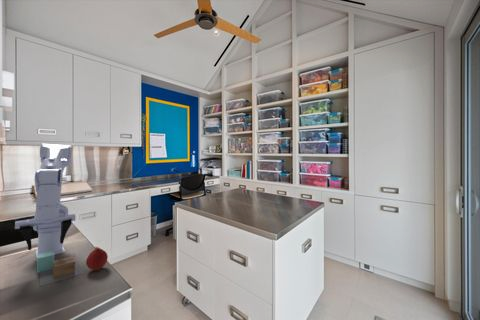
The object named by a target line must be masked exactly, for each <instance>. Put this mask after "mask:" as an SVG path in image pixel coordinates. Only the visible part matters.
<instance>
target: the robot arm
mask: <svg viewBox="0 0 480 320" xmlns="http://www.w3.org/2000/svg"><path fill="white" fill-rule="evenodd" d="M39 156H40V157H39V158H40V162H41V165H40V168H39V170H36V171H35V173H34V184H35V192H36V201H35V213H34V217H33V218H29V219H23V220H17V221H16V220H15V221H14V222H15V223H14V230H19V232H20V234H21V235H22V237H23V238H24V240H25V242H26V245H27V250H28V251H31V250H32V228H33V230H34V231H35V232H37V234H38V237H37V240H38V241H37V249H35V258H36V259H37V254H41V253H46V252H51V251H54V254H55V255H58V254H63V253H66V250H65V248H64V241H65V238H66V235H67V233H68V231H69V230H70V227H71V226H72V224H73V221H74V222H75V221H76V218H77V216H76V213H72V214H71V213H70V214H69V208H68V207H67V206H66V205H64V204H62V203H61V197H62V186H63V185H62V183H63V172H64V170H65V168H67V167H68V166H71V162H72V145H71V144H53V143H40V145H39Z"/></svg>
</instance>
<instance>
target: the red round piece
mask: <svg viewBox="0 0 480 320" xmlns="http://www.w3.org/2000/svg"><path fill="white" fill-rule="evenodd" d="M108 258H109V257H108V253H107V252H106V251H105V250H104V249H103V248H100V247H99V246H95V247H94V249H93V250H92V251H91V252H90V253H89V254H88V255H87V257H86V261H85V263H86V266H87V268H88V269H90V270H93V271H94V272H96V271H99V270H100V269H102V268H103V267H104V266H105V265H106V263H107V262H108Z"/></svg>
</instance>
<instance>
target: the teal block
mask: <svg viewBox="0 0 480 320" xmlns="http://www.w3.org/2000/svg"><path fill="white" fill-rule="evenodd" d="M55 255H56V254H54V251H51V252H46V253H41V254H37V258H36V273H37V274H39V272H42V271H46V270H50V269H53V261H55Z"/></svg>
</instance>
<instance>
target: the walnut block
mask: <svg viewBox="0 0 480 320" xmlns="http://www.w3.org/2000/svg"><path fill="white" fill-rule="evenodd" d="M75 263H76V260H75V258H74V256H73V255H72V256H69V257H63V258H60V259H54V261H53V277H54V278H57V277H60V276H64V275H67V274H71V273H74V272H75Z"/></svg>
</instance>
